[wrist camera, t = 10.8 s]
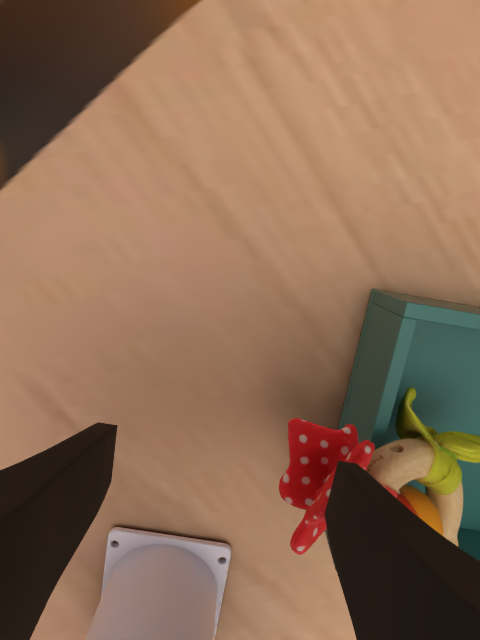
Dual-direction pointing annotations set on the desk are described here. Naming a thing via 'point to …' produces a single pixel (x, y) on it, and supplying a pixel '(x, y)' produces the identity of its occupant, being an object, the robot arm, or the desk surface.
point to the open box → (420, 381)
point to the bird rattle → (379, 470)
